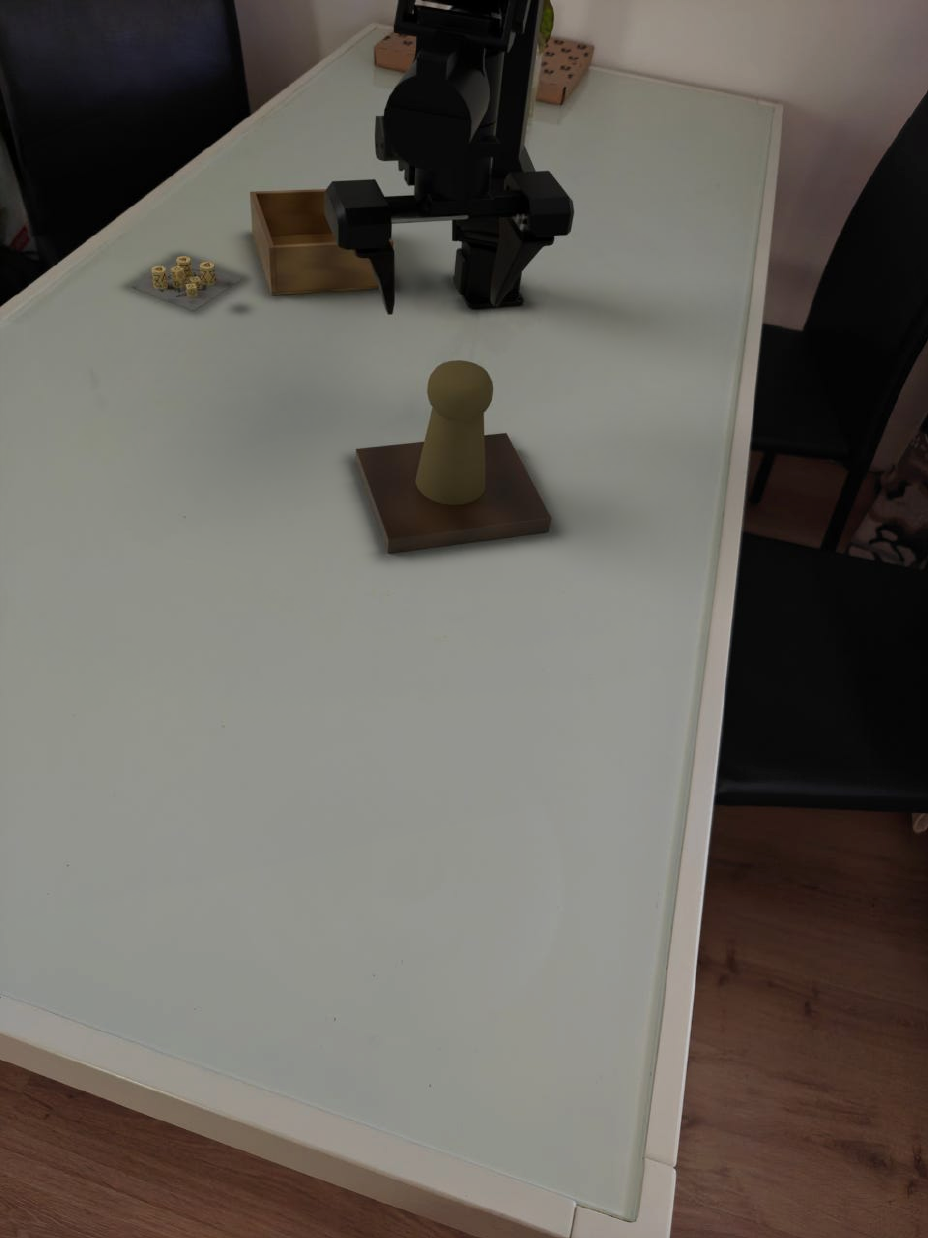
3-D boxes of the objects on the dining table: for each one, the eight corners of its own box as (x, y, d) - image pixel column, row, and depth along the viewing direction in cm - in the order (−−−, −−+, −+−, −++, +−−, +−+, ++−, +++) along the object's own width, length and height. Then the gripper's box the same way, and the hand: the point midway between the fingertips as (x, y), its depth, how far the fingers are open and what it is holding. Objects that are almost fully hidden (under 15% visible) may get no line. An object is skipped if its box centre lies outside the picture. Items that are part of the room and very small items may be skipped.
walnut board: (504, 445, 91) (506, 432, 90) (549, 531, 84) (551, 518, 83) (355, 462, 88) (355, 448, 87) (387, 553, 80) (388, 539, 79)
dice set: (150, 286, 105) (148, 269, 103) (181, 267, 108) (179, 250, 107) (189, 301, 103) (187, 284, 102) (219, 281, 107) (218, 264, 105)
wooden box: (364, 231, 118) (365, 186, 114) (391, 287, 109) (393, 241, 105) (252, 236, 114) (249, 191, 110) (271, 295, 106) (268, 247, 102)
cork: (413, 459, 86) (421, 347, 78) (482, 460, 87) (496, 350, 79) (417, 504, 82) (425, 392, 74) (489, 505, 83) (505, 394, 75)
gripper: (540, 67, 79) (515, 252, 90) (307, 71, 74) (312, 266, 86) (592, 126, 72) (558, 318, 83) (339, 135, 67) (340, 337, 79)
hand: (442, 307), depth 83 cm, fingers open, 9 cm apart
